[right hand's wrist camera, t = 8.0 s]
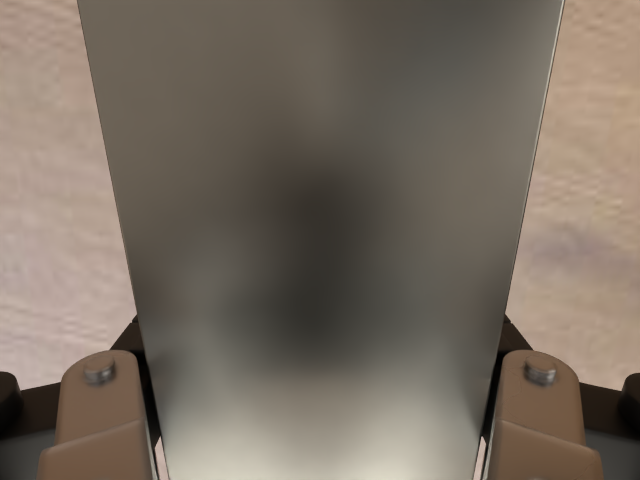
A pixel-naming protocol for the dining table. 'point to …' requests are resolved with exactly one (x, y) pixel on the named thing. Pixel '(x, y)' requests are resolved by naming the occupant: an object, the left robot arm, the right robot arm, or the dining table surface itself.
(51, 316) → the dining table surface
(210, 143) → the box
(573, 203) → the dining table surface
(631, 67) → the dining table surface
